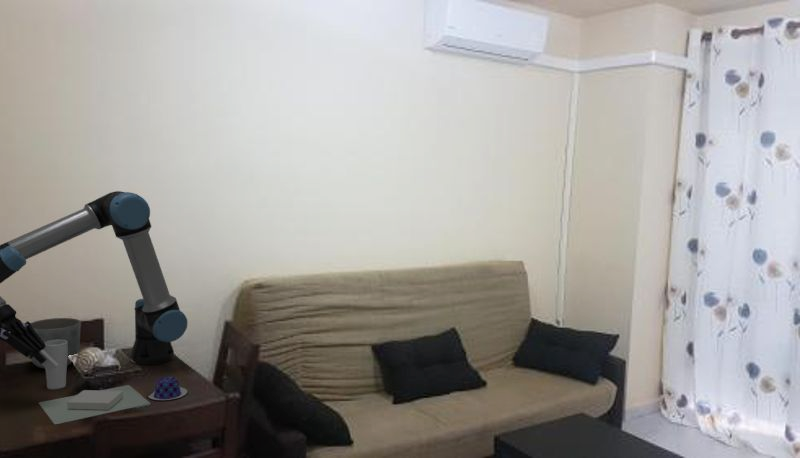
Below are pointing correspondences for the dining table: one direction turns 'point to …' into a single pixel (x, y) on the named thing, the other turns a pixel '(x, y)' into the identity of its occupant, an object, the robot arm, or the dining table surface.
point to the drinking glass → (60, 355)
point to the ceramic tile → (95, 400)
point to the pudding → (167, 389)
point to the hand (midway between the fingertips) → (54, 368)
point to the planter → (59, 333)
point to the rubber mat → (61, 414)
